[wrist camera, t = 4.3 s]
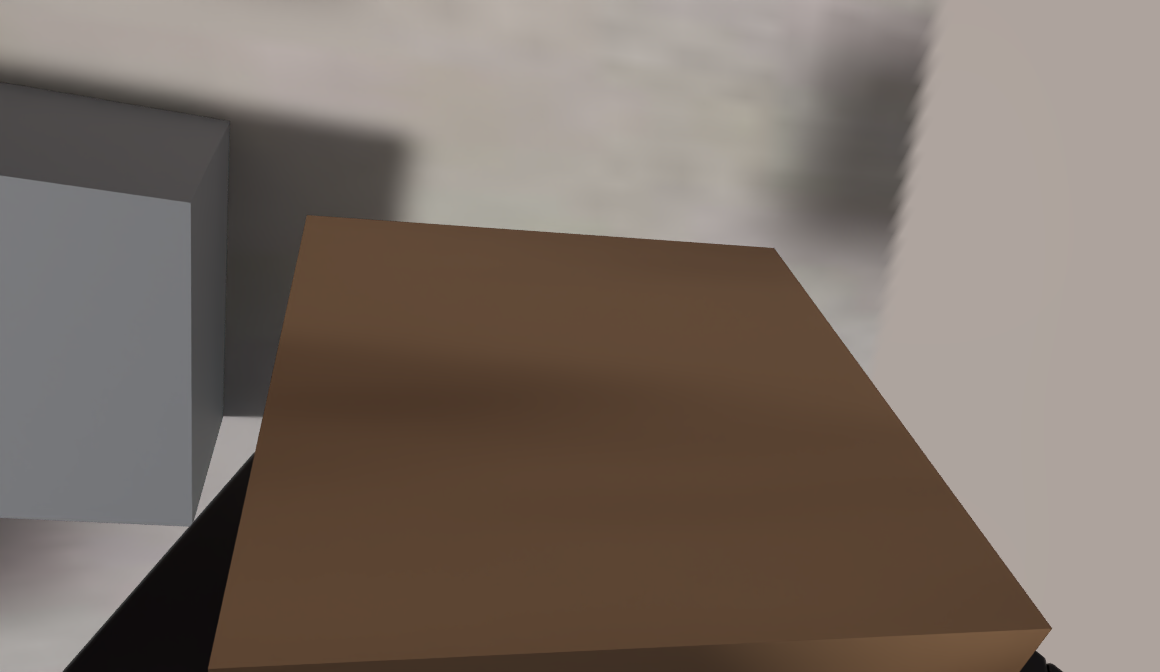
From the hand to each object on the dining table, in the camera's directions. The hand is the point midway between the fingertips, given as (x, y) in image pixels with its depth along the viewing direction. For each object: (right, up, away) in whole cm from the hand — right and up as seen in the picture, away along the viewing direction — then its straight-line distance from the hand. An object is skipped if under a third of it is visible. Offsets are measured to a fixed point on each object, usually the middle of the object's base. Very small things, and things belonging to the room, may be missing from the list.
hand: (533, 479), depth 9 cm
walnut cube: (0, +1, +1) cm, 1 cm away
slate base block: (-12, +3, +9) cm, 15 cm away
